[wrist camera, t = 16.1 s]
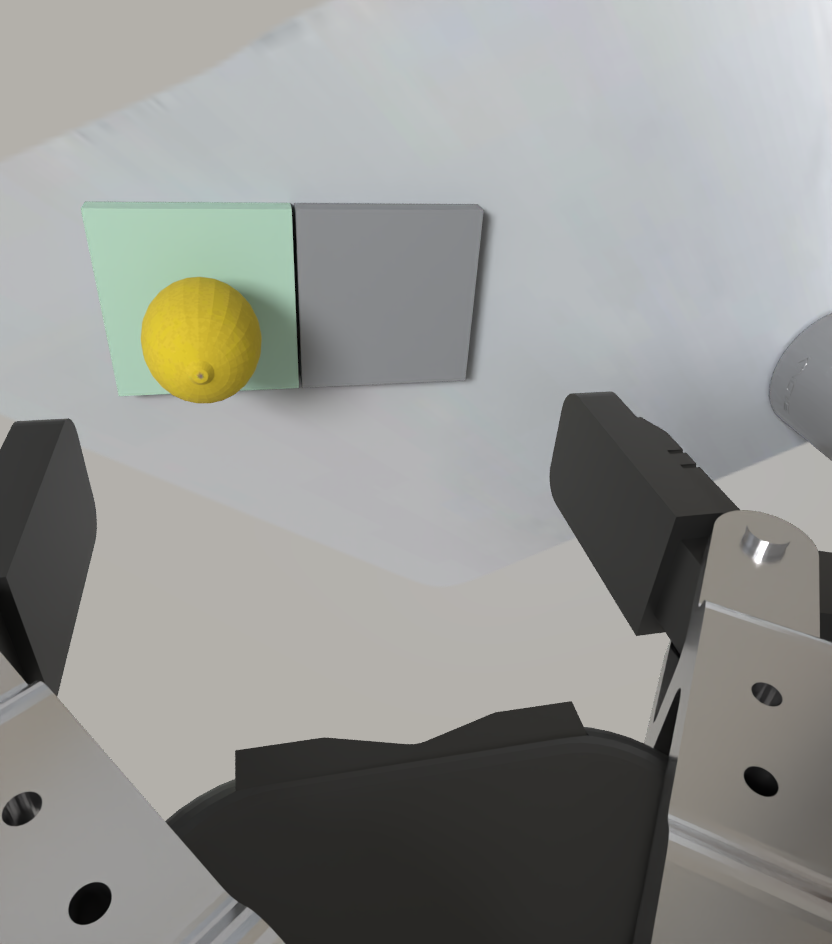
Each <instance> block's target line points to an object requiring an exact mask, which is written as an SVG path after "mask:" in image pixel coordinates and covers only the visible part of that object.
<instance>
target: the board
mask: <svg viewBox="0 0 832 944" xmlns="http://www.w3.org/2000/svg"><path fill="white" fill-rule="evenodd" d="M81 212H82V217H83V222H84V227H85V232H86V236H87V241H88V246H89V251H90V256H91V261H92V266H93V271H94V276H95V281H96V286H97V291H98V295H99V300H100V305H101V310H102V315H103V320H104V325H105V330H106V335H107V340H108V345H109V349H110V354H111V359H112V364H113V369H114V374H115V379H116V384H117V389H118V394H119V396H135V395H157V394H171V393H169V392H168V391H167V390H165V389H164V388H163V387H162V386H161V385H160V384H159V383H158V382H157V381H156V379H155V378H154V377H153V376H152V374H151V372H150V370H149V368H148V366H147V364H146V362H145V360H144V356H143V351H142V345H141V330H142V321H143V318H144V316H145V313H146V311H147V308H148V306H149V304H150V303H151V302H152V300H153V299H154V298H155V297H156V296H157V294H158V293H159V292H160V291H161V290H163V289H164V288H166V287H167V286H169V285H170V284H172V283H173V282H176V281H179V280H182V279H185V278H191V277H206V278H212V279H216V280H219V281H221V282H224V283H226V284H228V285H230V286H231V287H233V288H234V289H235V290H237V291H238V292H240V293H241V295H242V296H243V297H244V298H245V299H246V300H247V301H248V302H249V304H250V305H251V307H252V309H253V311H254V313H255V315H256V316H257V319H258V322H259V326H260V331H261V336H262V340H261V354H260V358H259V361H258V364H257V367H256V370H255V372H254V374H253V375H252V377H251V378H250V379H249V381H248V382H247V384H246V385H245V386H244V387H243V388H242V389H240V390H239V391H244V390H265V389H287V388H299V378H298V353H297V328H296V304H295V279H294V254H293V230H292V209H291V205H290V203H195V202H85V203H84V204H83V206H82V207H81ZM483 212H484V210H483V209H482V208H481V207H480V206H479V205H478V204H352V203H294V214H295V240H296V266H297V292H298V318H299V344H300V370H301V382H302V388H309V387H330V386H352V385H374V384H396V383H417V382H439V381H461V380H465V378H466V369H467V360H468V351H469V342H470V332H471V323H472V314H473V305H474V295H475V286H476V277H477V268H478V258H479V249H480V240H481V231H482V221H483Z"/></svg>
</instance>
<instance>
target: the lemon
mask: <svg viewBox="0 0 832 944" xmlns="http://www.w3.org/2000/svg"><path fill="white" fill-rule="evenodd" d="M261 340H262V336H261V331H260V326H259V322H258V319H257V316H256V315H255V313H254V311H253V309H252V307H251V305H250V304H249V302H248V301H247V300H246V299H245V298H244V297H243V296H242V295H241V293H240V292H238V291H237V290H235V289H234V288H233V287H231V286H230V285H228V284H226V283H224V282H221V281H219V280H216V279H212V278H206V277H191V278H185V279H182V280H179V281H176V282H173V283H172V284H170V285H169V286H167V287H166V288H164V289H163V290H161V291H160V292H159V293H158V294H157V296H156V297H155V298H154V299H153V300H152V302H151V303H150V304H149V306H148V308H147V311H146V313H145V316H144V318H143V321H142V330H141V345H142V351H143V356H144V360H145V362H146V364H147V366H148V368H149V370H150V372H151V374H152V376H153V377H154V378H155V379H156V381H157V382H158V383H159V384H160V385H161V386H162V387H163V388H164V389H165V390H167V391H168V392H169V393H171V394H172V395H173V396H176V397H178V398H180V399H183V400H185V401H189V402H194V403H213V402H218V401H222V400H224V399H226V398H228V397H231V396H233V395H234V394H236V393H237V392H238V391H239V390H240V389H242V388H243V387H244V386H245V385H246V384H247V382H248V381H249V379H250V378H251V377H252V375H253V374H254V372H255V370H256V367H257V364H258V361H259V358H260V354H261Z"/></svg>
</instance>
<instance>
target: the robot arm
mask: <svg viewBox="0 0 832 944" xmlns="http://www.w3.org/2000/svg"><path fill="white" fill-rule="evenodd" d="M769 397H770V402H771V406H772V408H773V410H774V412H775V414H776V415H777V416H778V417H779V418H781V419H782V420H783V421H784V422H785V423H786V424H788V425H789V426H790V427H791V428H793V429H794V430H795V431H796V432H798V433H799V434H800V435H801V436H802V437H804V438H805V439H806V440H807V441H809V442H810V443H811V444H812V445H813V446H814V447H816V448H817V449H818V450H819V451H820V452H822V453H823V454H824V455H825V456H827V457H828V458H829V459H830V460H832V314H829V315H827V316H825V317H823V318H821V319H820V320H818V321H817V322H815V323H813V324H812V325H810V326H809V327H808V328H807V329H806V330H804V331H803V332H802V333H801V334H800V335H799V336H798V337H797V338H796V339H795V340H794V341H793V342H792V343H791V344H790V345H789V347H788V348H787V349H786V351H785V352H784V354H783V355H782V357H781V358H780V360H779V362H778V364H777V366H776V368H775V370H774V372H773V376H772V379H771V383H770V394H769ZM550 487H551V492H552V496H553V499H554V501H555V503H556V505H557V507H558V508H559V510H560V511H561V513H562V515H563V516H564V518H565V520H566V521H567V523H568V525H569V526H570V528H571V530H572V531H573V533H574V534H575V536H576V538H577V539H578V541H579V543H580V544H581V546H582V547H583V549H584V551H585V552H586V554H587V556H588V557H589V559H590V561H591V562H592V564H593V566H594V567H595V569H596V571H597V572H598V574H599V576H600V577H601V579H602V580H603V582H604V583H605V585H606V587H607V589H608V590H609V592H610V594H611V595H612V597H613V599H614V600H615V602H616V603H617V605H618V606H619V608H620V610H621V612H622V613H623V615H624V617H625V618H626V620H627V622H628V623H629V625H630V626H631V628H632V630H633V631H634V633H635V635H636V636H639V635H646V634H654V633H662V632H666V634H667V635H668V637H669V638H670V643H669V645H668V648H667V651H666V653H665V656H664V660H663V665H662V669H661V673H660V678H659V682H658V687H657V691H656V695H655V699H654V704H653V708H652V713H651V717H650V721H649V725H648V729H647V734H646V738H645V742H644V743H641V742H639V741H636V740H634V739H632V738H629V737H626V736H623V735H619V734H616V733H613V732H609V731H605V730H599V729H594V728H588V727H583V725H582V723H581V721H580V718H579V716H578V714H577V712H576V710H575V707H574V705H573V703H572V702H564V703H557V704H550V705H543V706H536V707H530V708H523V709H516V710H510V711H503V712H496V713H493V714H490V715H488V716H486V717H483V718H481V719H478V720H476V721H474V722H471V723H469V724H466V725H464V726H461V727H459V728H457V729H454V730H452V731H449V732H447V733H445V734H443V735H440V736H437V737H435V738H433V739H430V740H428V741H426V742H422V743H419V744H397V743H396V744H395V743H384V742H372V741H360V740H359V741H358V740H348V739H336V738H318V739H311V740H304V741H297V742H291V743H284V744H277V745H270V746H263V747H257V748H250V749H243V750H236V751H235V757H236V759H235V761H236V762H235V766H236V767H235V769H236V771H235V776H236V778H235V780H232V781H229V782H227V783H224V784H222V785H219V786H217V787H216V788H214V789H212V790H210V791H208V792H207V793H204V794H203V795H201V796H199V797H197V798H196V799H194V800H193V801H191V802H190V803H188V804H187V805H185V806H184V807H182V808H181V809H179V810H178V811H177V812H176V813H175V814H173V815H172V816H171V817H170V818H169V819H167V820H166V821H164V820H163V819H162V818H161V816H160V815H159V814H158V813H157V812H156V811H155V809H154V808H153V807H152V806H151V805H150V804H149V802H148V801H147V800H146V799H145V798H144V797H143V796H142V794H141V793H140V792H139V791H138V790H137V789H136V787H135V786H134V785H133V784H132V783H131V782H130V781H129V779H128V778H127V777H126V776H125V775H124V774H123V772H122V771H121V770H120V769H119V768H118V767H117V766H116V764H115V763H114V762H113V761H112V760H111V759H110V757H108V755H107V754H106V753H105V752H104V751H103V750H102V748H101V747H100V746H99V745H98V744H97V743H96V741H95V740H94V739H93V738H92V737H91V736H90V734H89V733H88V732H87V731H86V730H85V729H84V727H83V726H82V725H81V724H80V723H79V722H78V721H77V719H75V717H74V716H73V715H72V714H71V713H70V711H69V710H68V709H67V708H66V707H65V706H64V704H63V703H62V702H61V701H60V700H59V699H58V698H57V695H58V691H59V687H60V683H61V679H62V675H63V671H64V667H65V662H66V658H67V654H68V650H69V646H70V642H71V638H72V634H73V630H74V626H75V622H76V617H77V613H78V609H79V605H80V601H81V597H82V593H83V589H84V585H85V581H86V577H87V572H88V569H89V564H90V560H91V556H92V552H93V548H94V544H95V539H96V529H97V522H96V520H97V519H96V509H95V502H94V498H93V494H92V490H91V486H90V482H89V478H88V474H87V470H86V466H85V462H84V458H83V454H82V450H81V446H80V442H79V438H78V434H77V431H76V428H75V425H74V423H73V422H72V420H70V419H51V420H32V421H17V422H15V423H13V425H12V427H11V429H10V431H9V433H8V435H7V437H6V439H5V441H4V443H3V445H2V447H1V449H0V944H832V553H830V552H823V551H818V550H817V547H816V545H815V544H814V543H813V541H812V540H811V539H810V538H809V537H808V536H807V535H806V534H805V533H804V532H803V531H801V530H800V529H799V528H797V527H796V526H794V525H793V524H791V523H789V522H787V521H785V520H783V519H780V518H778V517H775V516H772V515H769V514H766V513H762V512H756V511H748V510H740V509H739V508H738V507H737V506H736V505H735V504H734V503H733V502H732V501H731V500H730V499H729V498H728V497H727V496H726V495H725V493H724V492H723V491H722V490H721V489H720V488H719V487H718V486H717V485H716V484H715V483H714V482H713V481H712V480H711V479H710V478H709V477H708V475H707V474H706V473H705V472H704V471H703V470H702V469H701V468H700V467H696V463H695V462H694V461H693V460H692V459H691V458H690V456H689V455H688V454H687V453H683V449H682V448H681V447H680V446H679V445H678V444H677V443H676V442H675V441H674V440H673V438H672V437H671V436H670V435H669V434H668V433H667V432H666V431H664V430H662V429H660V428H659V427H657V426H655V425H653V424H652V423H650V422H648V421H647V420H645V419H643V418H641V417H639V418H637V417H636V416H635V415H634V414H633V413H632V411H631V410H630V409H629V408H628V407H627V406H626V405H625V404H624V403H623V402H622V400H621V399H620V398H619V397H618V396H617V395H616V394H615V393H613V392H593V393H574V394H569V395H568V396H567V397H566V399H565V401H564V403H563V407H562V411H561V416H560V421H559V427H558V432H557V437H556V442H555V447H554V452H553V457H552V462H551V467H550Z"/></svg>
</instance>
